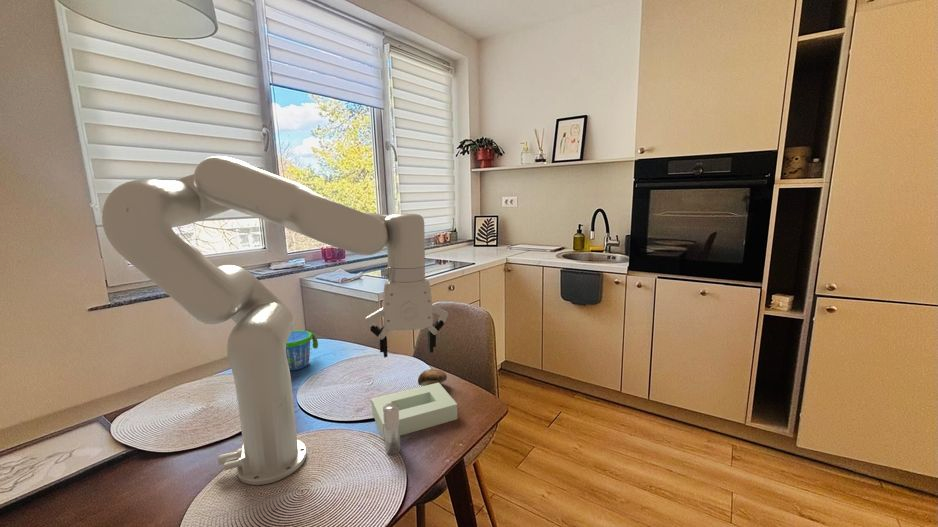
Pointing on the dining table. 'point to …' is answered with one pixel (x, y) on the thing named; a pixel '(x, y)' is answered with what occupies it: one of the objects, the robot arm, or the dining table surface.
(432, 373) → the mushroom
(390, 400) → the slot block
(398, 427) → the pin
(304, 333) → the snack cup
